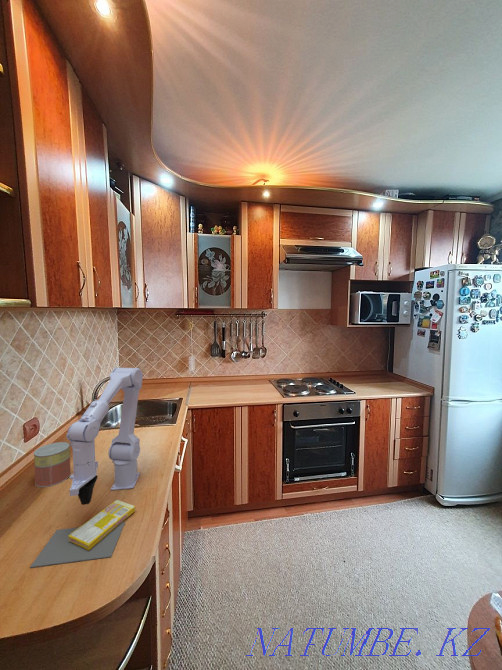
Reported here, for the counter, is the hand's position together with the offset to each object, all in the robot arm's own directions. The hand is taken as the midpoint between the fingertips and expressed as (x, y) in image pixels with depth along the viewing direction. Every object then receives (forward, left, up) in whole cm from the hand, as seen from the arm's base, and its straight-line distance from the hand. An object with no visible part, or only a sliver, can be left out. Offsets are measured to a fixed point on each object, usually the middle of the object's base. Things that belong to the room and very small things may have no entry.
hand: (86, 502), depth 82 cm
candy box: (+1, +3, -5) cm, 5 cm away
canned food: (-26, -23, -6) cm, 35 cm away
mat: (+9, +2, -6) cm, 11 cm away
